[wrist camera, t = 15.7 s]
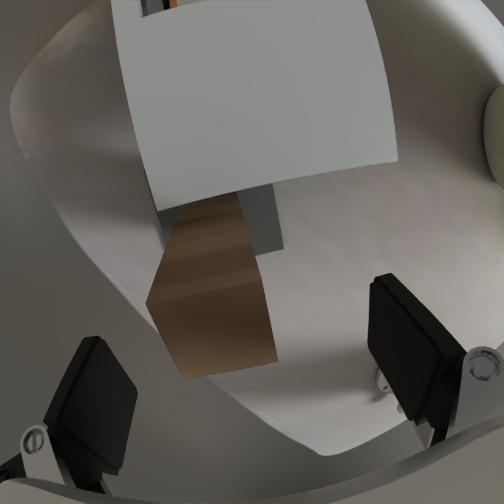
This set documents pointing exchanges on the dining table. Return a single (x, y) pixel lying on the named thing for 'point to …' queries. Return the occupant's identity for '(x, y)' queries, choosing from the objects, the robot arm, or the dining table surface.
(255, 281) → the brown wooden bar
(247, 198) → the pad
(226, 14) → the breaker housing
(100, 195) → the dining table surface
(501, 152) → the canister
